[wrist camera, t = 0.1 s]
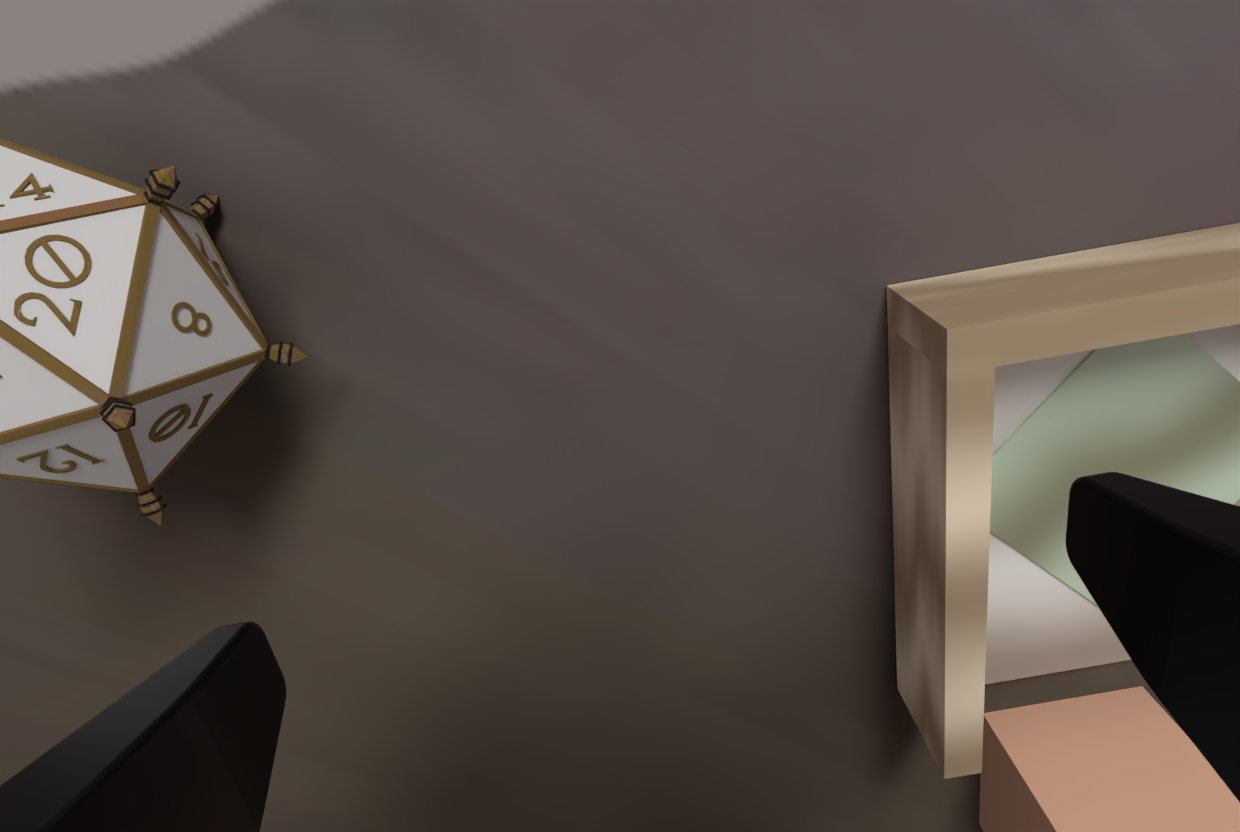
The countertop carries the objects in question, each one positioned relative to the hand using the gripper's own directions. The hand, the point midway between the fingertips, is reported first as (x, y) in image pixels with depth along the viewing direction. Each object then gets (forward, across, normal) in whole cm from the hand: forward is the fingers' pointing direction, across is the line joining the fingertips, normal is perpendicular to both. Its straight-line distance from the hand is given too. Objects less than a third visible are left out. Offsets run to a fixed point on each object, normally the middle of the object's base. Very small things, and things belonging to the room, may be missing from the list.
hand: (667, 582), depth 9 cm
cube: (+15, -14, +22) cm, 30 cm away
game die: (+15, +12, -2) cm, 19 cm away
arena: (+15, -16, +10) cm, 24 cm away
